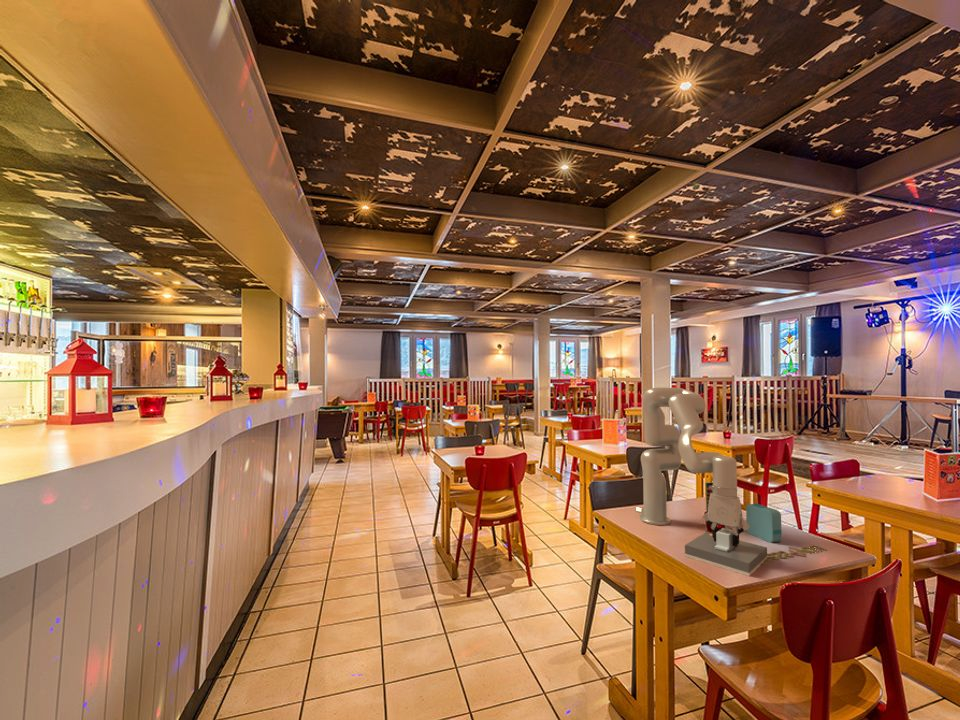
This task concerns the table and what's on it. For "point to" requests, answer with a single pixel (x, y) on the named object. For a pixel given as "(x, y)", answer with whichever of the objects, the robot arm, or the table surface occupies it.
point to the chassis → (727, 554)
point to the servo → (724, 540)
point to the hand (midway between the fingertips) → (725, 542)
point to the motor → (708, 494)
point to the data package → (764, 522)
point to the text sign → (793, 553)
